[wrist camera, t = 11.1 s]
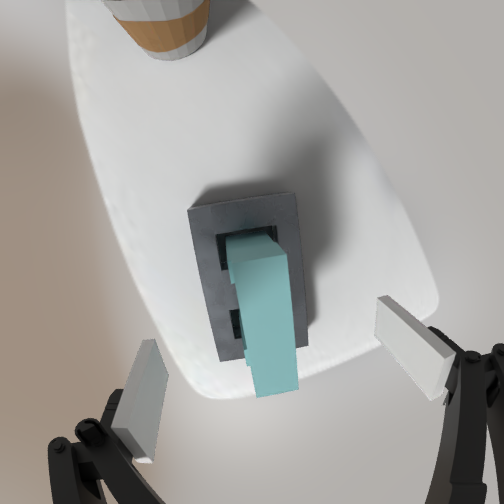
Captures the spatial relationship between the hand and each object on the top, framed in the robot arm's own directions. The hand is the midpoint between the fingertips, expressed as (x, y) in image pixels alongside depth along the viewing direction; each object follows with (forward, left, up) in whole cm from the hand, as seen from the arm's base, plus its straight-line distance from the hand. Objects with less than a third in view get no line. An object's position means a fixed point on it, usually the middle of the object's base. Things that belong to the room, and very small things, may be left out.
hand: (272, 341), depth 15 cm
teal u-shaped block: (0, 0, -12) cm, 12 cm away
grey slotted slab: (0, 0, -12) cm, 12 cm away
